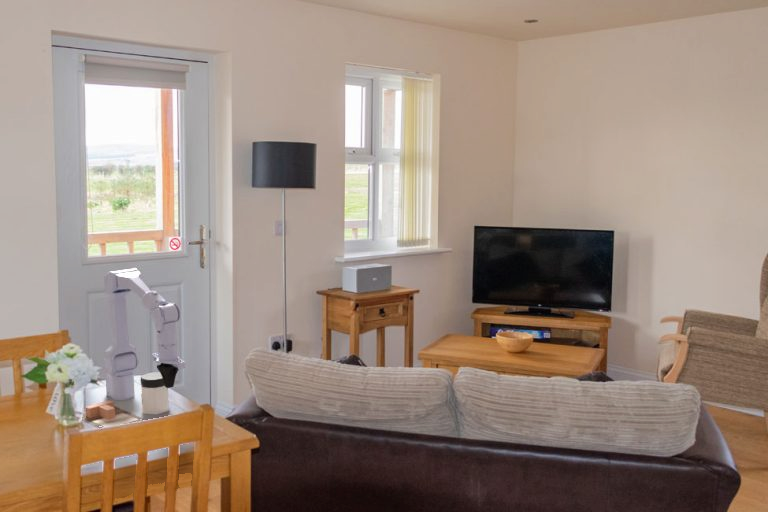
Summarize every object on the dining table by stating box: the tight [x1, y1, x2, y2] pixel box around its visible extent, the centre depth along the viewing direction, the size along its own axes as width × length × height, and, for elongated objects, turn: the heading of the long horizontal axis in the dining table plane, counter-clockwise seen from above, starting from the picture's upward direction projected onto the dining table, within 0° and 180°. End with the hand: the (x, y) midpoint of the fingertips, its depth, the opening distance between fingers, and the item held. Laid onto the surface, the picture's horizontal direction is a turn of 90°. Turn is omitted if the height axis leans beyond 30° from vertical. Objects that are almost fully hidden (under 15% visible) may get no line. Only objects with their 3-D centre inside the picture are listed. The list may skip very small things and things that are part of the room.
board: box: [81, 405, 145, 429], centre depth 243 cm, size 20×13×1 cm, turn 49°
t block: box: [85, 400, 115, 420], centre depth 244 cm, size 8×8×3 cm
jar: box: [140, 371, 170, 415], centre depth 249 cm, size 9×8×12 cm
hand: (169, 387), depth 242 cm, fingers closed
